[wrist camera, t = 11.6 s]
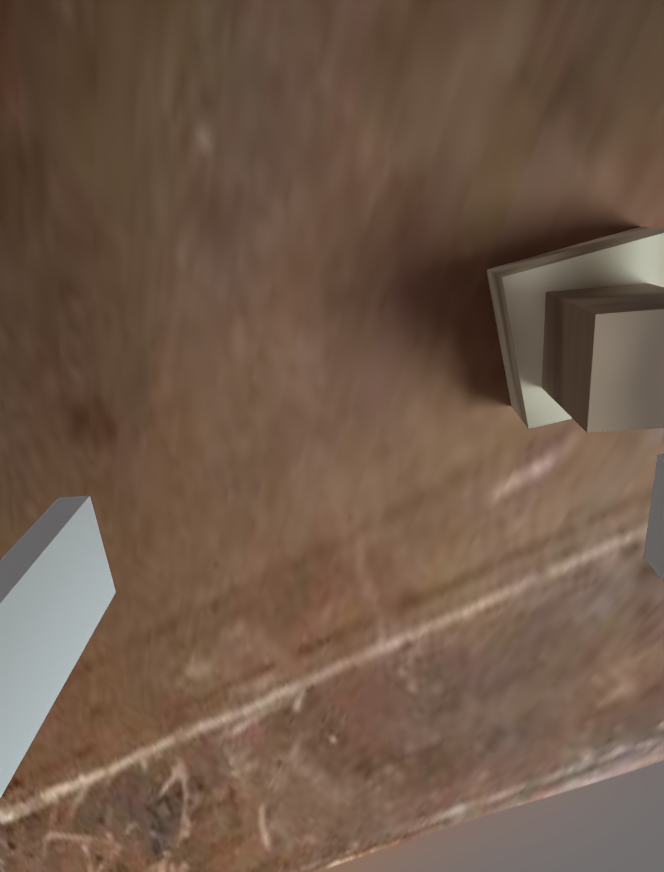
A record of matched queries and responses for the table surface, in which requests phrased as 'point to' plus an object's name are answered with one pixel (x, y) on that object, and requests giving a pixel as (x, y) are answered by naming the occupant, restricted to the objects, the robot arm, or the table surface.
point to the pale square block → (557, 271)
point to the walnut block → (606, 356)
